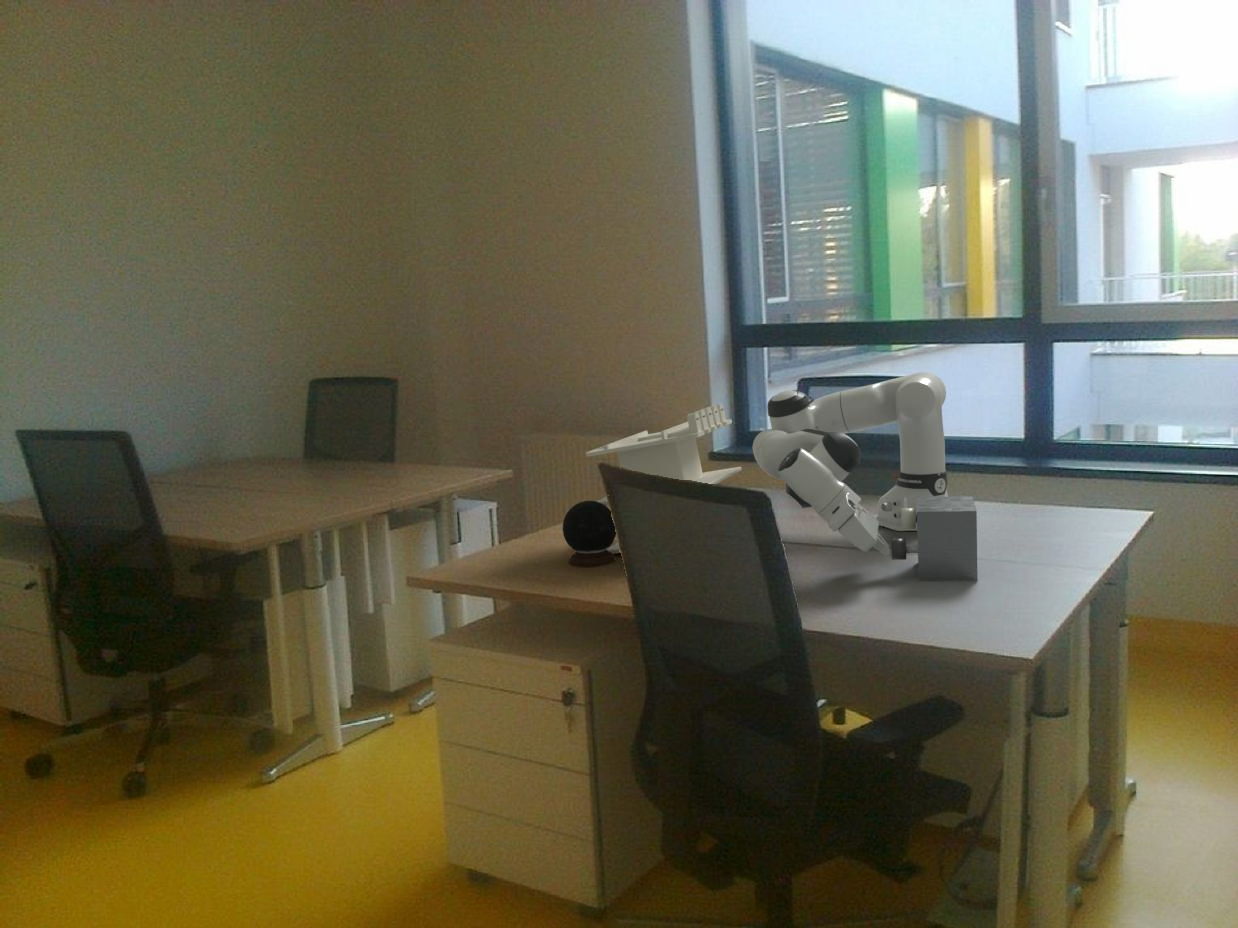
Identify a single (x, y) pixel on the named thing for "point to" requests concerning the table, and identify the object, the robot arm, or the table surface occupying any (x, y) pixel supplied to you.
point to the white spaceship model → (670, 451)
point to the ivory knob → (909, 518)
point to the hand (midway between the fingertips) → (888, 552)
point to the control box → (947, 539)
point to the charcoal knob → (902, 548)
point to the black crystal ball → (589, 534)
